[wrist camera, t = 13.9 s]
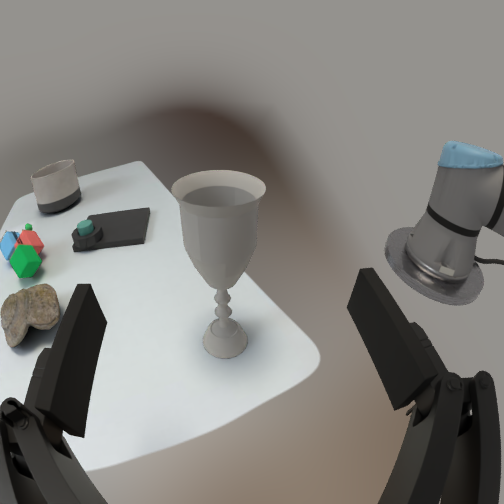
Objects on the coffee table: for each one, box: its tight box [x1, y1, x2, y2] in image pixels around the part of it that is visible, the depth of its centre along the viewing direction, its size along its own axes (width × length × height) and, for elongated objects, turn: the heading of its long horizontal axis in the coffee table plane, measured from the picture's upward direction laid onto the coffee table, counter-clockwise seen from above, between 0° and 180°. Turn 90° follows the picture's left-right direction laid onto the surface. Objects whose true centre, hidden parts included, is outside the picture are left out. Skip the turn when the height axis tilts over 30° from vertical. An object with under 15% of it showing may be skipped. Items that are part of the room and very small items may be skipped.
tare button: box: [77, 220, 94, 236], centre depth 43 cm, size 3×3×2 cm
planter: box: [31, 160, 81, 213], centre depth 56 cm, size 13×13×10 cm
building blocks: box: [0, 224, 44, 278], centre depth 36 cm, size 8×8×12 cm
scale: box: [72, 208, 150, 252], centre depth 47 cm, size 14×13×3 cm
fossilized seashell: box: [1, 284, 60, 347], centre depth 27 cm, size 11×11×7 cm
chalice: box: [171, 170, 266, 358], centre depth 25 cm, size 7×7×18 cm
